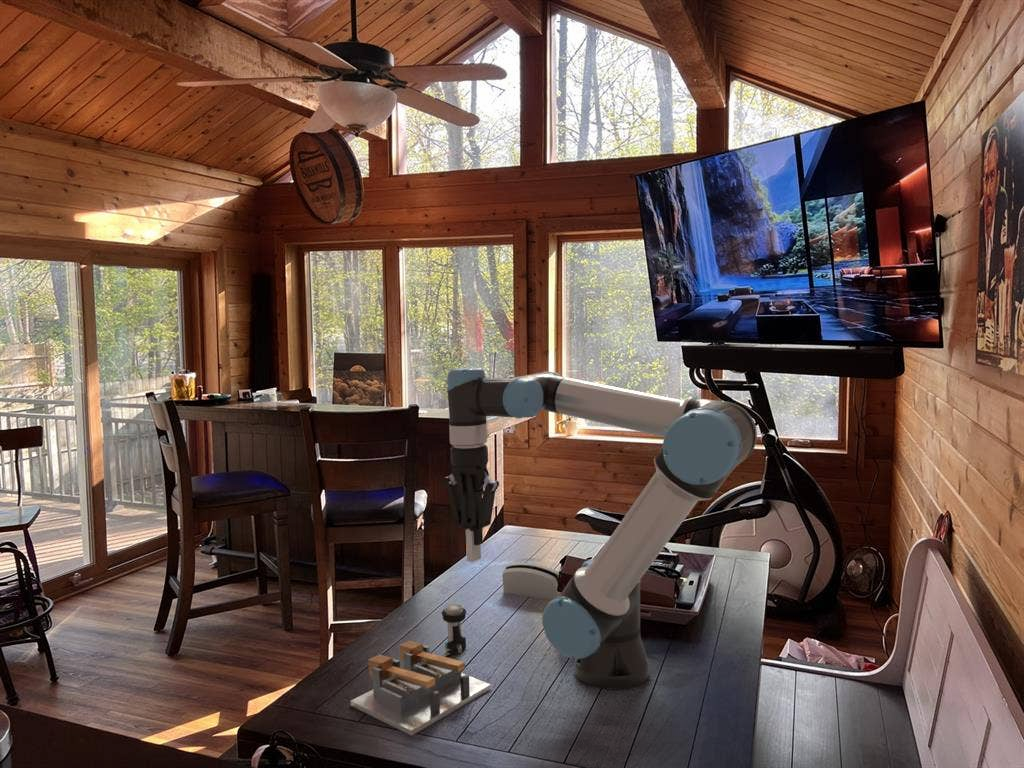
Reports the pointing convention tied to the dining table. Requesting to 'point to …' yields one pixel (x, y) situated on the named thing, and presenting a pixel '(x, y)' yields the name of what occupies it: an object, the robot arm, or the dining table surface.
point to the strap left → (399, 672)
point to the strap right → (429, 657)
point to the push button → (454, 629)
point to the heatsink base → (421, 710)
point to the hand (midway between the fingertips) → (474, 559)
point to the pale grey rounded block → (531, 580)
